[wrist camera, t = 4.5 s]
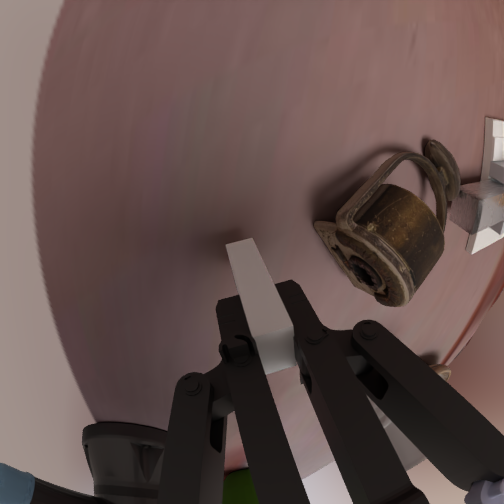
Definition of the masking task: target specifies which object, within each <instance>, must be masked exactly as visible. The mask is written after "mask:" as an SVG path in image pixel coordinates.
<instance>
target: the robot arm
mask: <svg viewBox="0 0 504 504" xmlns="http://www.w3.org/2000/svg"><path fill="white" fill-rule="evenodd" d="M226 249H227V253H228V257H229V261H230V265H231V269H232V273H233V277H234V280H235V284H236V288H237V291H238V295H236V296H232V297H229V298H225V299H221V300H218V303H217V306H216V314H217V319H218V324H219V330H220V335H221V340H222V341H221V343H220V345H219V353H220V355H221V357H222V361H221V362H220V364H219V365H218V366H217V367H215V368H214V369H212V370H211V371H209V372H207V373H205V374H202V373H197V372H193V373H188V374H186V375H184V376H182V377H181V378H180V380H179V381H178V382H177V385H176V388H175V393H174V398H173V404H172V409H171V415H170V420H169V426H168V432H165V431H162V430H158V429H154V428H150V427H145V426H139V425H132V424H123V423H96V424H91V425H88V426H86V427H85V428H84V429H83V436H82V445H83V448H84V451H85V455H86V459H87V462H88V465H89V468H90V471H91V474H92V477H93V481H94V496H91V495H87V494H83V493H80V492H76V491H73V490H69V489H66V488H63V487H60V486H57V485H54V484H52V483H49V482H46V481H44V480H41V479H38V478H36V477H34V476H33V475H32V474H30V473H28V472H22V471H19V470H17V469H15V468H13V467H11V466H8V465H6V464H3V463H0V504H222V498H223V479H224V462H225V445H226V429H227V415H228V414H230V413H231V412H233V411H235V414H236V419H237V423H238V427H239V431H240V435H241V439H242V443H243V447H244V451H245V455H246V459H247V462H248V466H249V470H250V474H251V477H252V481H253V484H254V488H255V491H256V495H257V498H258V502H259V504H310V502H309V499H308V496H307V494H306V491H305V488H304V486H303V483H302V480H301V477H300V475H299V472H298V469H297V466H296V463H295V460H294V458H293V455H292V452H291V449H290V446H289V443H288V440H287V438H286V435H285V432H284V429H283V426H282V423H281V420H280V417H279V414H278V411H277V408H276V405H275V402H274V399H273V396H272V393H271V390H270V387H269V384H268V381H267V378H266V374H270V373H273V372H277V371H280V370H283V369H286V368H290V367H293V366H296V361H297V364H298V366H299V368H300V382H301V384H303V383H304V386H305V388H306V391H307V393H308V396H309V398H310V400H311V403H312V405H313V408H314V410H315V413H316V415H317V417H318V420H319V422H320V425H321V427H322V430H323V432H324V434H325V437H326V439H327V442H328V444H329V446H330V449H331V451H332V454H333V456H334V458H335V461H336V463H337V465H338V468H339V471H340V473H341V475H342V478H343V480H344V483H345V485H346V487H347V490H348V492H349V495H350V497H351V499H352V502H353V504H429V502H428V500H427V498H426V496H425V495H424V493H423V492H422V491H421V490H419V489H417V488H416V487H415V486H414V485H413V484H412V483H411V481H410V479H409V477H408V475H407V473H406V471H405V469H404V467H403V465H402V463H401V461H400V459H399V457H398V455H397V453H396V451H395V449H394V447H393V445H392V443H391V441H390V439H389V437H388V435H387V433H386V431H385V429H384V427H383V425H382V424H381V422H380V420H379V418H378V416H377V414H376V412H375V410H374V408H373V406H372V405H371V403H370V401H369V399H368V397H369V398H370V399H371V400H372V401H373V402H374V403H375V404H376V405H377V406H378V408H379V409H380V410H381V411H382V412H383V413H384V414H385V415H386V416H387V417H388V418H389V419H390V420H391V421H392V422H393V423H394V424H395V425H396V426H397V428H398V429H399V430H400V431H401V432H402V433H403V434H404V435H405V436H406V437H407V438H408V439H409V440H410V441H411V442H412V443H413V444H414V445H415V446H416V447H417V448H418V449H419V450H420V451H421V453H422V454H423V455H424V456H425V457H426V458H427V459H428V460H429V461H430V462H431V463H432V464H433V465H434V466H435V467H436V468H437V469H438V470H439V471H440V472H441V473H442V474H443V475H444V476H445V477H446V478H447V479H448V480H449V481H450V482H452V483H453V484H454V485H456V486H457V487H459V488H460V489H463V490H465V491H468V494H467V495H466V496H465V499H464V501H465V503H466V504H504V436H503V435H502V434H501V433H500V432H499V431H498V430H497V429H496V428H495V427H494V426H493V425H492V424H491V423H490V422H489V421H488V420H487V419H486V418H485V417H484V416H483V415H482V414H481V413H480V412H478V410H476V409H475V408H474V407H473V406H472V405H471V404H470V403H469V402H468V401H467V400H466V399H465V398H464V397H462V396H461V395H460V394H459V393H458V392H457V391H456V390H455V389H454V388H453V387H451V385H449V384H448V383H447V382H446V381H445V380H444V379H443V378H442V377H441V376H439V375H438V374H437V373H436V372H435V371H434V370H433V369H432V368H431V367H429V366H428V365H427V364H426V363H425V362H424V361H423V360H422V359H420V358H419V357H418V356H417V355H416V354H415V353H414V352H412V351H411V350H410V349H409V348H408V347H407V346H406V345H404V344H403V343H402V342H401V341H400V340H399V339H398V338H396V337H395V336H394V335H393V334H392V333H391V332H389V331H388V330H387V329H386V328H385V327H384V326H382V325H381V324H380V323H378V322H376V321H373V320H363V321H360V322H358V323H357V324H356V325H355V326H354V328H353V330H332V329H329V328H327V327H326V326H324V325H323V324H322V323H321V322H320V320H319V318H318V317H317V315H316V313H315V311H314V310H313V308H312V306H311V304H310V303H309V301H308V300H307V297H306V296H305V294H304V292H303V290H302V289H301V287H300V285H299V284H297V283H296V282H294V281H293V280H288V281H284V282H281V283H277V284H274V283H273V281H272V279H271V276H270V274H269V272H268V270H267V268H266V266H265V264H264V261H263V259H262V257H261V255H260V253H259V251H258V249H257V246H256V244H255V242H254V240H253V238H249V239H245V240H241V241H237V242H233V243H230V244H226ZM367 396H368V397H367Z"/></svg>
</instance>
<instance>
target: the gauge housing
mask: <svg viewBox="0 0 504 504" xmlns="http://www.w3.org/2000/svg"><path fill="white" fill-rule="evenodd" d="M491 179H497V180H498V181H500V182H502V183H504V121H503V120H498V119H493V118H488V117H485V142H484V155H483V165H482V173H481V180H480V181H485V180H491ZM503 237H504V220H503V221H501V222H499V223H497V224H495V225H493V226H490V227H488V228H486V229H484V230H482V231H479V232H477V233H475V234H473V235H471V234H470V236H469V239H468V243H467V247H466V251H467V252H469V253H470V254H473V253H475V252H477V251H479V250H481V249H483V248H485V247H486V246H488V245H490V244H492V243H494V242H496V241H497V240H499V239H501V238H503Z"/></svg>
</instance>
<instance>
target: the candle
mask: <svg viewBox="0 0 504 504" xmlns="http://www.w3.org/2000/svg"><path fill="white" fill-rule="evenodd" d="M367 397H368V396H367ZM368 399H369V401H370V403H371V405H372V406H373V408H374V410H375V412H376V414H377V416H378V418H379V420H380V422H381V424H382V425H383V427H384V429H385V431H386V433H387V435H388V437H389V439H390V441H391V443H392V445H393V447H394V449H395V451H396V453H397V455H398V457H399V459H400V461H401V463H402V465H403V467H404V469H405V471H407V470H409V469H411V468H413V467H414V466H416V465H418V464H419V463H421V462H422V461H424V460H425V459H427V458H426V457H425V456H424V455H423V454H422V453H421V451H420V450H419V449H418V448H417V447H416V446H415V445H414V444H413V443H412V442H411V441H410V440H409V439H408V438H407V437H406V436H405V435H404V434H403V433H402V432H401V431H400V430H399V429H398V428H397V426H396V425H395V424H394V423H393V422H392V421H391V420H390V419H389V418H388V417H387V416H386V415H385V414H384V413H383V412H382V411H381V410H380V409H379V408H378V406H377V405H376V404H375V403H374V402H373V401H372V400H371V399H370V398H369V397H368Z"/></svg>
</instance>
